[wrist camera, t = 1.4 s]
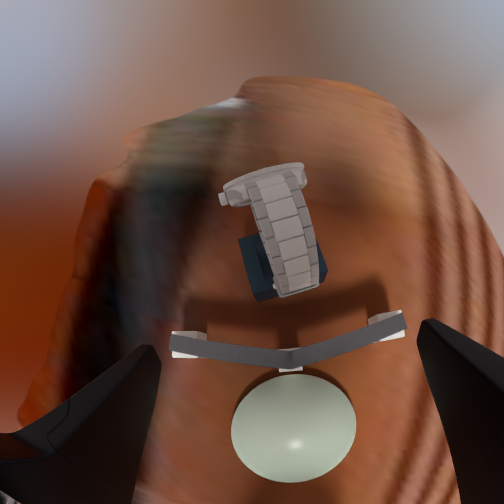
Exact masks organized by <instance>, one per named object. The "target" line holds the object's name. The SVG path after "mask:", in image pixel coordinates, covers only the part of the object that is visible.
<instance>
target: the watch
mask: <svg viewBox="0 0 504 504" xmlns="http://www.w3.org/2000/svg"><path fill="white" fill-rule="evenodd" d="M303 169H304V164H303V163H299V162H293V163H285V164H280V165H275V166H271V167H265V168H263V169H260V170H256V171H253V172H250V173H248V174H245V175H242V176H240V177H238V178H235V179H233V180H231V181H229V182H228V183H226V184H225V185H224V186H223V189H224V191H225V192H226V194H225V192H222V193H219V194H218V196H219V200H220V203H221V205H222V206H224V205H228V202H229V204H230V205H231V206H232V207H243V206H248V205H251V209H252V212H253V215H254V217H255V221H256V224H257V227H258V230H259V231H260V232H259V233H257V234H254V235H251V236H247V237H244V238H241V239H238V241H239V245H240V248H241V252H242V256H243V260H244V263H245V267H246V271H247V274H248V278H249V282H250V286H251V289H252V293H253V295H254V297H255V298H256V300H257V302H260V301H263V300H267V299H270V298H274V297H277V296H280V297H281V298H283V297H286V296H290V295H293V294H296V293H300V292H303V291H306V290H309V289H312V288H315V287H318V286H319V283H322V282H323V281H324V279H325V277H326V274H327V272H328V269H327V266H326V264H325V261H324V258H323V256H322V253H321V250H320V248H319V245H318V243H317V240H316V237H315V235H314V230H313V226H311V225H312V223H311V219H310V215H309V212H308V208H307V207H306V203H305V200H304V197H303V194H302V192H301V189H302V188H304V187H305V186H306V185H307V178H306V175H305V172H304V170H303ZM295 215H297V216H295ZM292 216H293V217H292ZM288 217H290V218H288ZM261 230H262V231H261Z"/></svg>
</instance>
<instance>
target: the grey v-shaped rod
mask: <svg viewBox="0 0 504 504" xmlns="http://www.w3.org/2000/svg"><path fill="white" fill-rule="evenodd" d="M399 313H402V312H401V310H398V311H393V312H387V313H381V314H377V315H375V316H373V317H371V318H369V319H368V325H371V324H374V323H377V322H379V321H382V320H384V319H387V318H389V317H392V316H394V315H397V314H399ZM172 334H175V335H180V336H185V337H191V338H196V339H202V340H207V334H206V333H202V332H199V331H172ZM400 337H405V335H404V330H402V331H400V332H398V333H395V334H393V335H391V336H388V337H386V338H383V339H381V340H378V341H376V342H380V341H386V340H391V339H395V338H400ZM373 343H375V342H373ZM300 348H301V347H300ZM295 349H299V348H290V349H278V350H284V351H291V350H295ZM172 358H204V357H199V356H194V355H189V354H184V353H179V352H175V351H172ZM298 370H303V368H302V366H301V367H298V368H294V369H291V370H290V369H281V368H279V372H287V371H298Z"/></svg>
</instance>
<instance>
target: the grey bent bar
mask: <svg viewBox="0 0 504 504" xmlns="http://www.w3.org/2000/svg"><path fill="white" fill-rule="evenodd" d="M405 329H407V326H406V323H405V319H404V316H403V313H399V314H397V315H394V316H392V317H389V318H387V319H384V320H382V321H379V322H377V323H374V324H371V325H369V326H366V327H363V328H360V329H358V330H355V331H352V332H349V333H346V334H343V335H340V336H337V337H334V338H331V339H328V340H325V341H322V342H319V343H315V344H312V345H309V346H305V347H302V348H299V349H295V350H291V351H284V350H274V349H265V348H256V347H248V346H241V345H233V344H227V343H220V342H214V341H208V340H202V339H196V338H191V337H185V336H180V335H175V334H171V339H170V345H169V350H170V351H175V352H179V353H184V354H189V355H194V356H199V357H204V358H209V359H215V360H221V361H227V362H233V363H240V364H247V365H255V366H263V367H271V368H281V369H290V370H291V369H294V368H298V367H301V366H305V365H308V364H312V363H315V362H318V361H322V360H325V359H328V358H331V357H334V356H337V355H340V354H343V353H346V352H349V351H352V350H354V349H357V348H360V347H363V346H365V345H368V344H371V343H373V342H376V341H378V340H381V339H383V338H386V337H388V336H391V335H393V334H395V333H398V332H400V331H402V330H405Z"/></svg>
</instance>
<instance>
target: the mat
mask: <svg viewBox="0 0 504 504" xmlns="http://www.w3.org/2000/svg"><path fill="white" fill-rule="evenodd" d="M355 433H356V417H355V413H354V410H353V407H352V405H351V403H350V401H349V400H348V398H347V397H346V395H345V394H344V393H343V392H342V391H341V390H340V389H338V388H337V387H336V386H335V385H333V384H331V383H330V382H328V381H326V380H324V379H322V378H319V377H315V376H312V375H305V374H289V375H283V376H279V377H275V378H272V379H270V380H268V381H265V382H263V383H262V384H260V385H258V386H257V387H256V388H254V389H253V390H252V391H251V392H250V393H249V394H248V395H247V396H245V398H244V399H243V400H242V401H241V403H240V404H239V406H238V408H237V409H236V412H235V414H234V416H233V420H232V426H231V438H232V442H233V446H234V449H235V451H236V453H237V455H238V456H239V458H240V459H241V461H242V462H243V463H244V464H245V465H246V466H247V467H248V468H249V469H251V470H252V471H253V472H255V473H256V474H258V475H260V476H262V477H264V478H267V479H270V480H273V481H278V482H287V483H294V482H303V481H308V480H311V479H314V478H317V477H319V476H322V475H323V474H325V473H327V472H329V471H330V470H332V469H333V468H334V467H336V466H337V465H338V464H339V463H340V462H341V461H342V460H343V458H344V457H345V456H346V455H347V453H348V452H349V450H350V448H351V446H352V444H353V441H354V438H355Z"/></svg>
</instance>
